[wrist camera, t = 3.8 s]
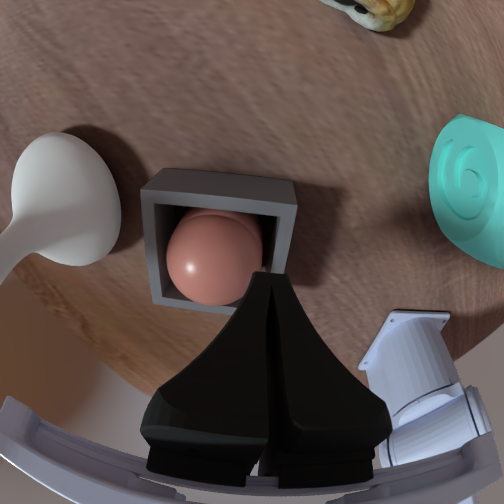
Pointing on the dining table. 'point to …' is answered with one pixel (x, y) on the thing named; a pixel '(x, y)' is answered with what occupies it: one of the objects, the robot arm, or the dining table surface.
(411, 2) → the pastry
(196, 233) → the pop dome
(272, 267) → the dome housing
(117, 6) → the dining table surface
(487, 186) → the decorative dice
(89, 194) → the flower in vase
